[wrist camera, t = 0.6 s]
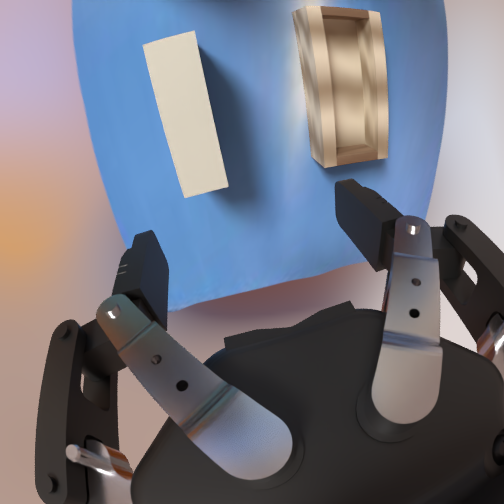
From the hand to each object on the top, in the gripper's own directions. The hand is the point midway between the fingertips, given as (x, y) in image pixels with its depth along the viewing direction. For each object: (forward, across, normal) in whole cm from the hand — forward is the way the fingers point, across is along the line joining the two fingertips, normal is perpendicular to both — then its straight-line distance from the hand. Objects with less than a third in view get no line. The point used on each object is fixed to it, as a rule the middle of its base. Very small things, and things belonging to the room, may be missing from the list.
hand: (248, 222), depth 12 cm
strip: (+21, +2, -3) cm, 21 cm away
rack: (+20, -15, -3) cm, 26 cm away
